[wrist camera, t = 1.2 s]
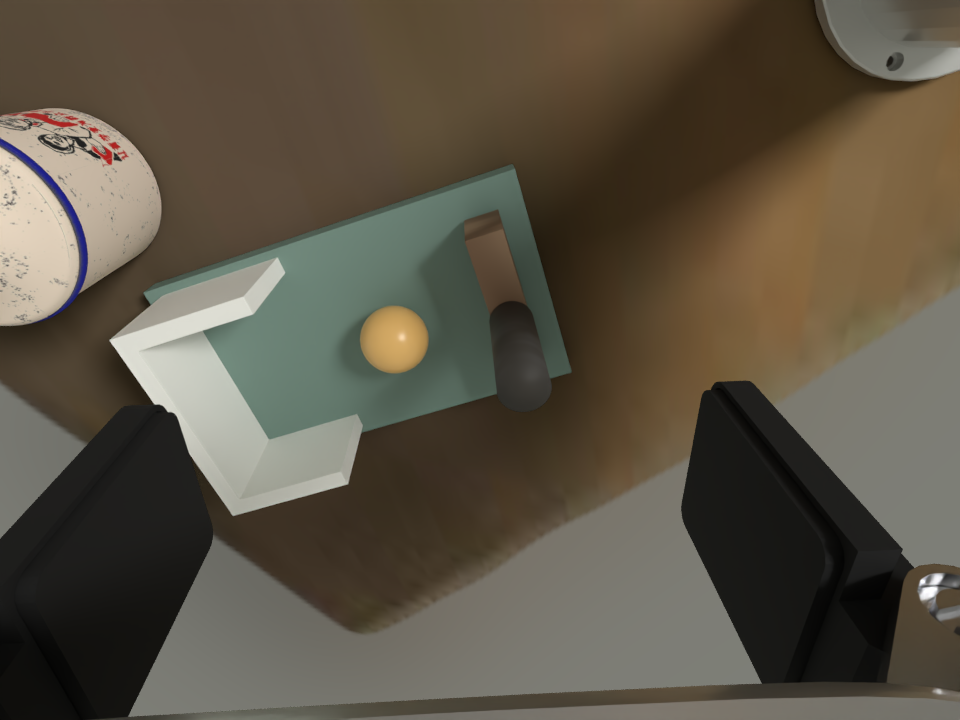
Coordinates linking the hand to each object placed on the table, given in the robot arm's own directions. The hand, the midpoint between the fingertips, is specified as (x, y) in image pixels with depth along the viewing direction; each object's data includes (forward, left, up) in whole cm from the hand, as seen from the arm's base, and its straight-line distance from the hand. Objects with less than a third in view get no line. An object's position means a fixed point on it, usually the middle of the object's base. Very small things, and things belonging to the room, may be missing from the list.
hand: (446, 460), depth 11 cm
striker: (-1, +7, -24) cm, 25 cm away
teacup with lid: (+22, -7, -26) cm, 34 cm away
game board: (+8, +7, -26) cm, 28 cm away
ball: (+6, +7, -22) cm, 24 cm away
